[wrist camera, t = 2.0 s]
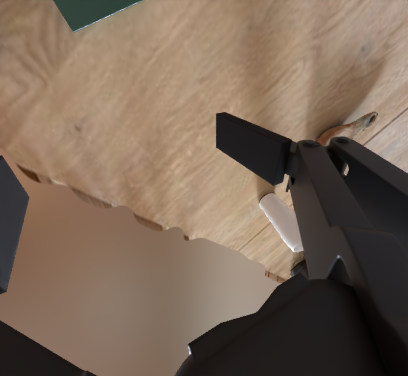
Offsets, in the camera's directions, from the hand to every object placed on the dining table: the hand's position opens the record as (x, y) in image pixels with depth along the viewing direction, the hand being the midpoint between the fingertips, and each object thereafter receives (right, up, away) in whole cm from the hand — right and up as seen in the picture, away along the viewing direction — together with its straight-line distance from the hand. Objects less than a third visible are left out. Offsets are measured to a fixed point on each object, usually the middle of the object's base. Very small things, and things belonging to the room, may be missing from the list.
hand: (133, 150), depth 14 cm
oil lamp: (+35, +10, +37) cm, 51 cm away
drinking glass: (+22, -6, +43) cm, 49 cm away
